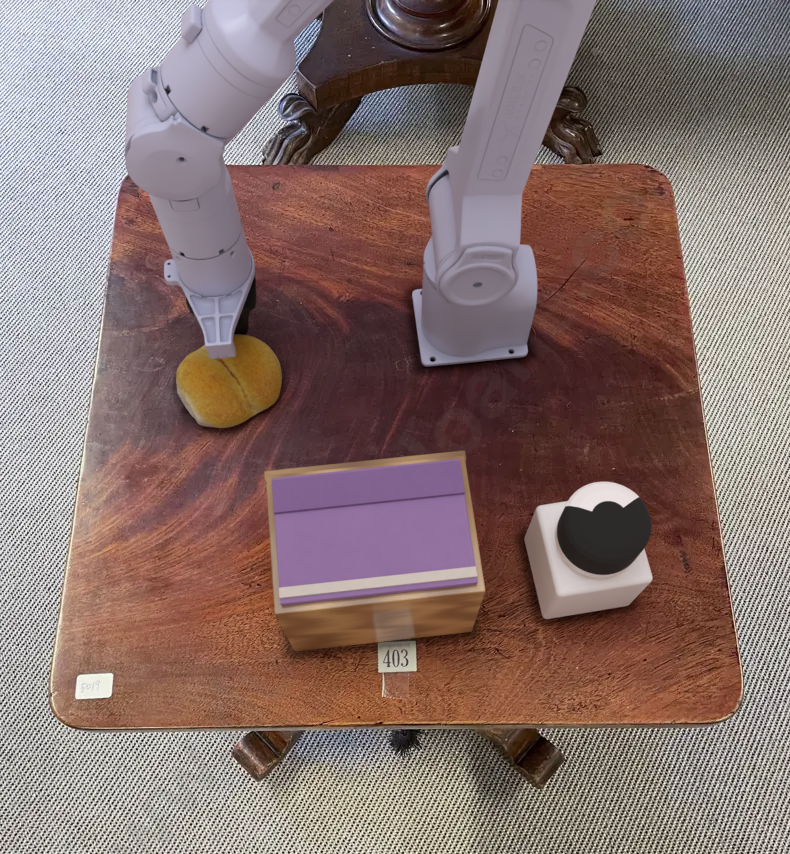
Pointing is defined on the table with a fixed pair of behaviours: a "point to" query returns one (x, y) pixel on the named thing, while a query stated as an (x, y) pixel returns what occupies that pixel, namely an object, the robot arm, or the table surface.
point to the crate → (382, 612)
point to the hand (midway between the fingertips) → (235, 331)
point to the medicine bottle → (589, 550)
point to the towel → (372, 532)
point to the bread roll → (229, 383)
